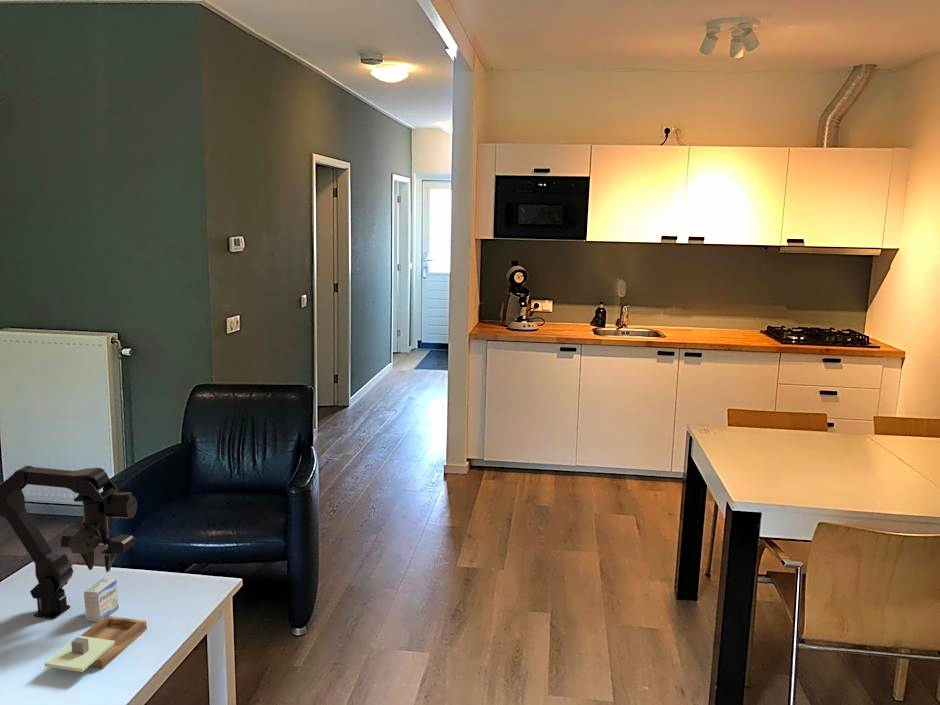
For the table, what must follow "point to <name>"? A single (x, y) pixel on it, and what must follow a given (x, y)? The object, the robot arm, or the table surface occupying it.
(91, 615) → the medicine box
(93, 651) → the cover
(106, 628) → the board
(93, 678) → the table surface
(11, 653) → the table surface
